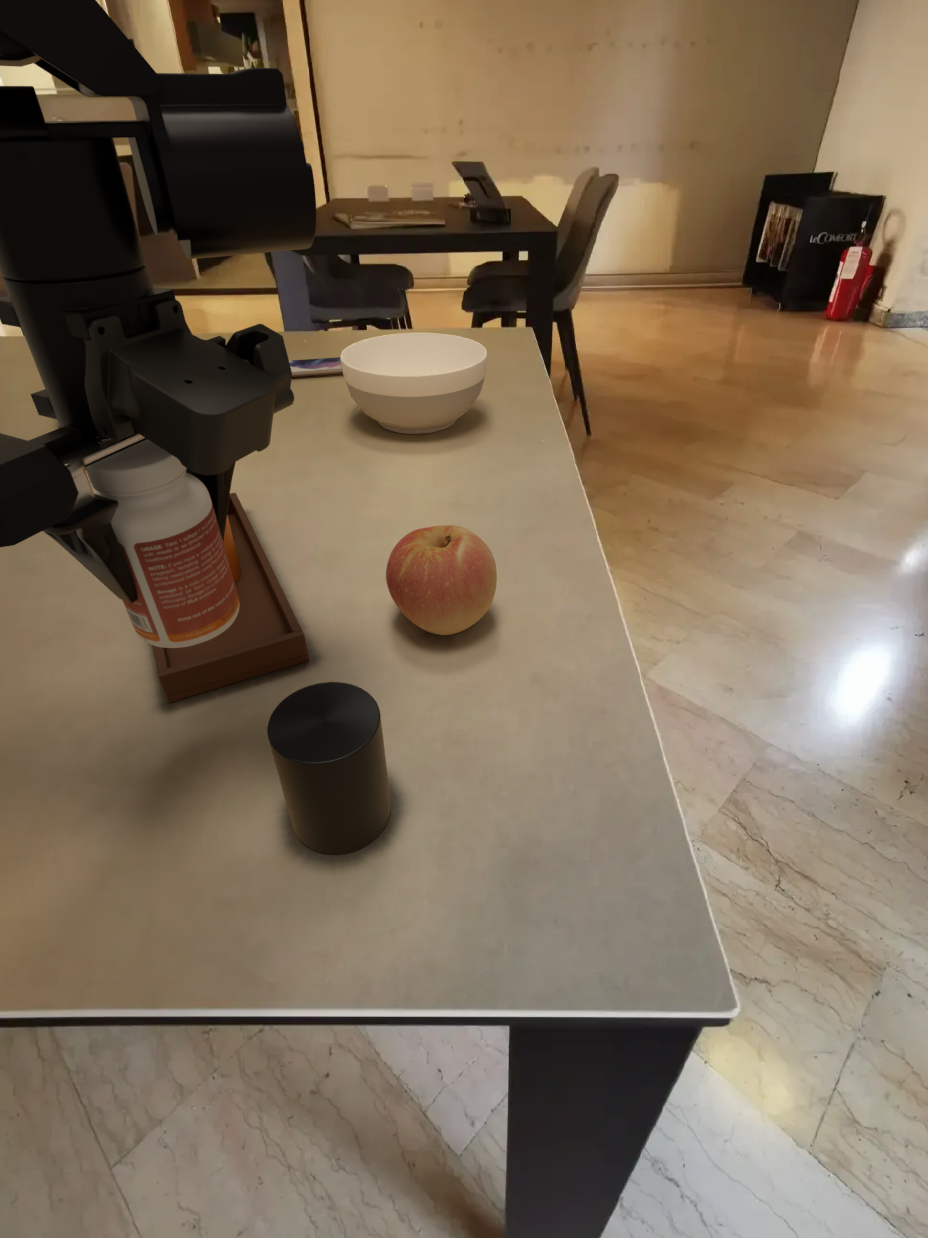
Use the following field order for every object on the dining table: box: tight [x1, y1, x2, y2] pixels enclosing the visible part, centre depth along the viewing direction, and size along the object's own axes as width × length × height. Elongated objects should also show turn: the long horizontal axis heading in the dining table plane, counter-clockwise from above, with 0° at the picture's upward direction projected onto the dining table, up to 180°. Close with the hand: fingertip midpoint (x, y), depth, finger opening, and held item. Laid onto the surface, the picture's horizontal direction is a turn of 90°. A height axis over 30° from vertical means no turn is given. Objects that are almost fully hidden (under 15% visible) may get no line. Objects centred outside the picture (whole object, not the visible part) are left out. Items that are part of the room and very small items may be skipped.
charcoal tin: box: [266, 681, 392, 855], centre depth 38 cm, size 6×6×8 cm
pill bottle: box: [85, 439, 239, 648], centre depth 37 cm, size 6×6×11 cm
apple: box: [385, 524, 498, 636], centre depth 53 cm, size 9×9×8 cm
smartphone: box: [289, 356, 343, 378], centre depth 107 cm, size 7×1×15 cm
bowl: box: [339, 332, 488, 435], centre depth 88 cm, size 19×19×9 cm
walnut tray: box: [151, 492, 310, 704], centre depth 58 cm, size 26×10×3 cm, turn 26°
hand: (174, 570), depth 38 cm, fingers closed on pill bottle, 6 cm apart
